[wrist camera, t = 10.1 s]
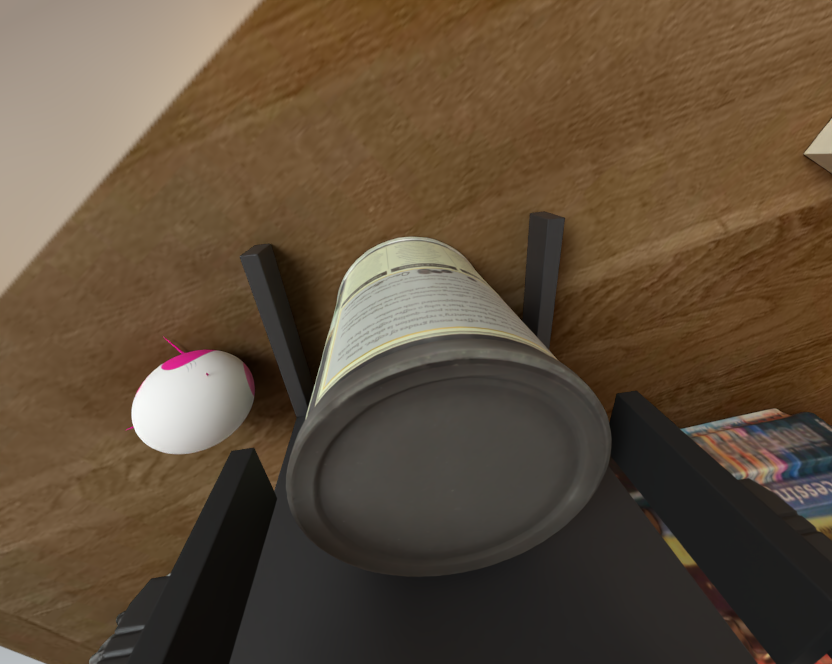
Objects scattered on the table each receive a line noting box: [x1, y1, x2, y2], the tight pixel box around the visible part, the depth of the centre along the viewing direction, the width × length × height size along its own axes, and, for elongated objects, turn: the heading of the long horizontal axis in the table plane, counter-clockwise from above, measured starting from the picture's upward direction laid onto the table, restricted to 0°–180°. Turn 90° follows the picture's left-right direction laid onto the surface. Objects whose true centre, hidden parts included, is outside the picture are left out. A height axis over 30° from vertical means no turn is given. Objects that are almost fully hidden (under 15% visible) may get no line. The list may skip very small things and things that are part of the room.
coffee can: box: [286, 237, 612, 577], centre depth 16 cm, size 10×10×14 cm
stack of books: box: [608, 408, 832, 664], centre depth 28 cm, size 23×18×17 cm
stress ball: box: [127, 338, 255, 454], centre depth 22 cm, size 8×8×7 cm
